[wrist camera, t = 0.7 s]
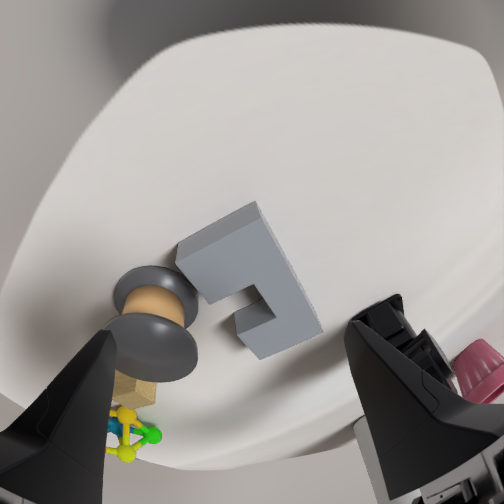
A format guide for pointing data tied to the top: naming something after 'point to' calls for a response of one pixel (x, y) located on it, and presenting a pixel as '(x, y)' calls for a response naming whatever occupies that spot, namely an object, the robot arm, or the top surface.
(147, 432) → the molecular model
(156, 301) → the bobbin
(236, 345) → the top surface
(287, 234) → the top surface
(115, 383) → the tan wooden block
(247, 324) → the notch board
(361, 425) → the cylinder vase
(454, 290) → the top surface
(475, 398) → the plant pot
